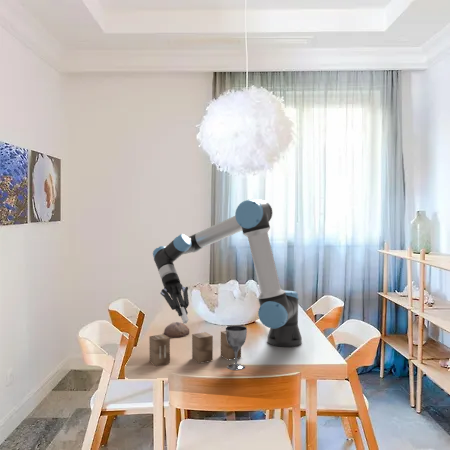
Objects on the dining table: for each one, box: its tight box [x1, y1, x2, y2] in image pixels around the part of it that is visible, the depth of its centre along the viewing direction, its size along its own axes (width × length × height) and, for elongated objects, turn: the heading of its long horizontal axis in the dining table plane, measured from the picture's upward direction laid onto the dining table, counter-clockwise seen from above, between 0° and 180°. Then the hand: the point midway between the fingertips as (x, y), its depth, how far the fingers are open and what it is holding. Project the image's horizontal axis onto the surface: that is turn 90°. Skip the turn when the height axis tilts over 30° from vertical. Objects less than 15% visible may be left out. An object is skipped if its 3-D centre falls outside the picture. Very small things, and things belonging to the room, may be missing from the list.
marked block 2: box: [220, 330, 242, 361], centre depth 192 cm, size 6×6×10 cm
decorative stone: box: [163, 321, 190, 338], centre depth 224 cm, size 12×12×6 cm
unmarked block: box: [191, 331, 214, 364], centre depth 188 cm, size 6×6×10 cm
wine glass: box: [225, 324, 248, 371], centre depth 180 cm, size 8×8×15 cm
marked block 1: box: [148, 334, 171, 367], centre depth 185 cm, size 6×6×10 cm
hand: (186, 321), depth 200 cm, fingers closed
